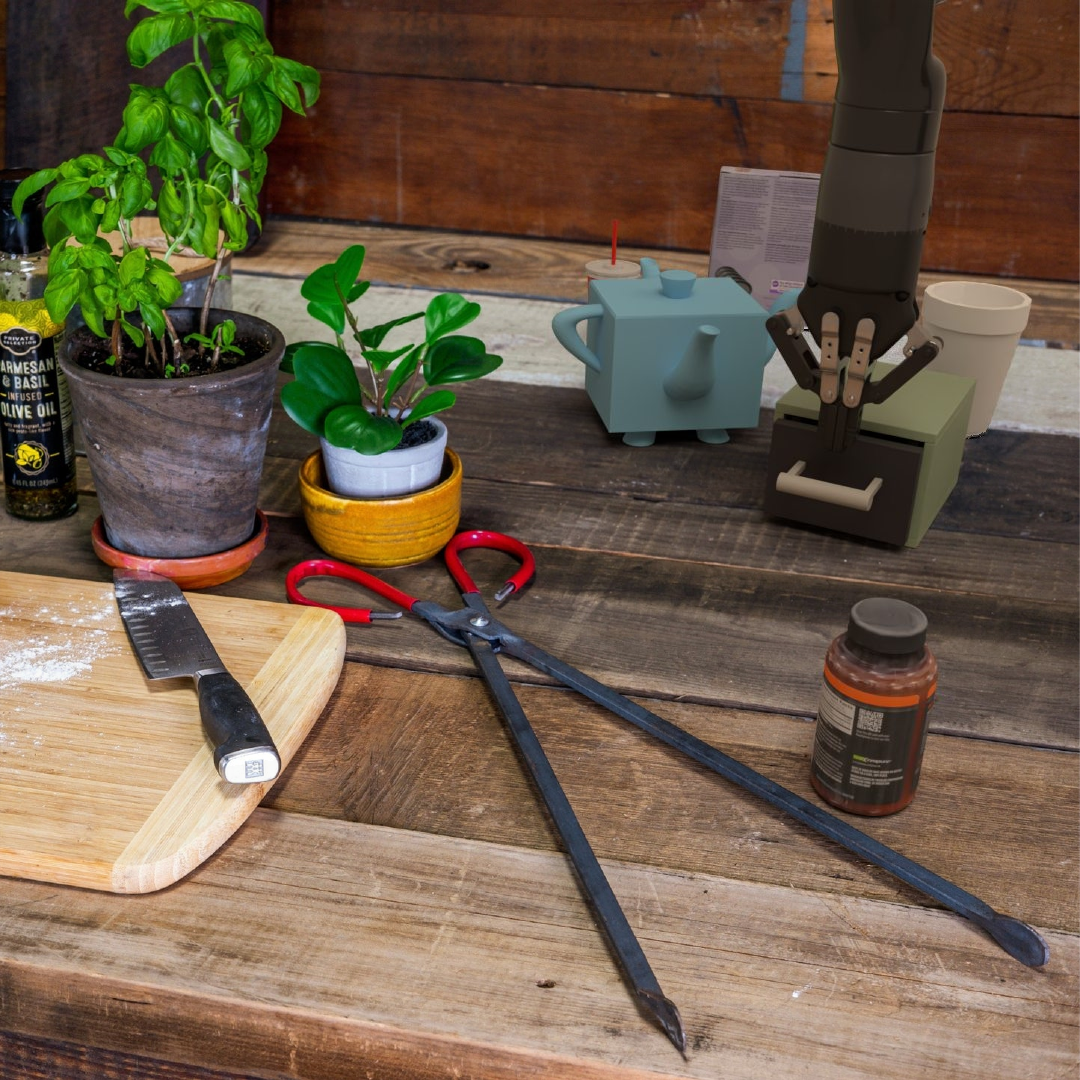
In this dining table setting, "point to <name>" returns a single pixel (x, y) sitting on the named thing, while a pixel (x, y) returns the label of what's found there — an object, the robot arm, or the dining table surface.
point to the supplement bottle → (874, 709)
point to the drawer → (843, 481)
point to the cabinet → (912, 430)
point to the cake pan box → (763, 230)
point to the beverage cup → (612, 265)
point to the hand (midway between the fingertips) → (836, 448)
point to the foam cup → (976, 337)
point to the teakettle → (672, 352)
